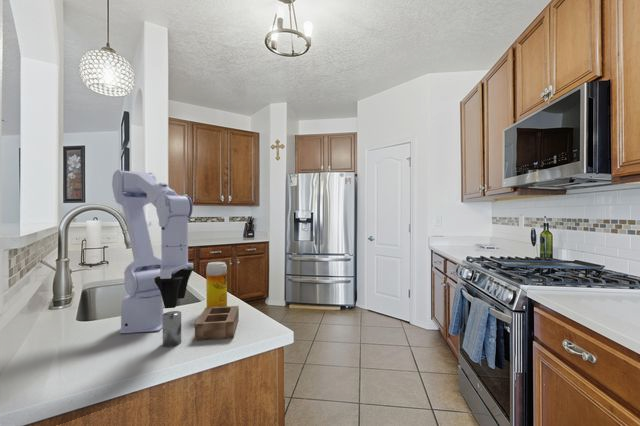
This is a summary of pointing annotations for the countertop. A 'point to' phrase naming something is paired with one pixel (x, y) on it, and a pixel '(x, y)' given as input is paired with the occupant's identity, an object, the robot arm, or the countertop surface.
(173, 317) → the peg
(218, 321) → the socket block
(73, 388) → the countertop surface
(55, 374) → the countertop surface
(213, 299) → the beer glass
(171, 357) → the countertop surface
